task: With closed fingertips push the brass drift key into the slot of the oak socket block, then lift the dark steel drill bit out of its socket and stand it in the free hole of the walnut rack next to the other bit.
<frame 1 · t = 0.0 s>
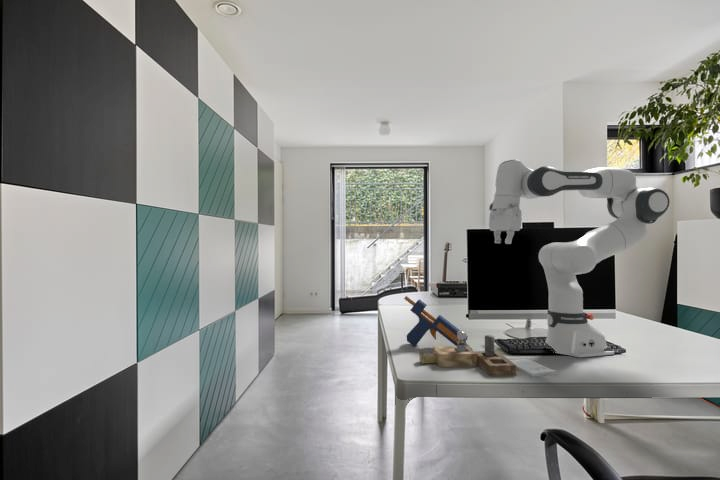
hand: (502, 243, 146), 39 cm above the table, tool pointing down, fingers open, 8 cm apart
glue gun: (437, 347, 153), on the table
bit rack: (493, 367, 129), on the table
drill bit: (461, 362, 134), resting in socket block
socket block: (454, 362, 134), on the table
external hard drive: (530, 371, 127), on the table
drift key: (432, 357, 134), point 2 cm above the table, slide at 3.0 cm
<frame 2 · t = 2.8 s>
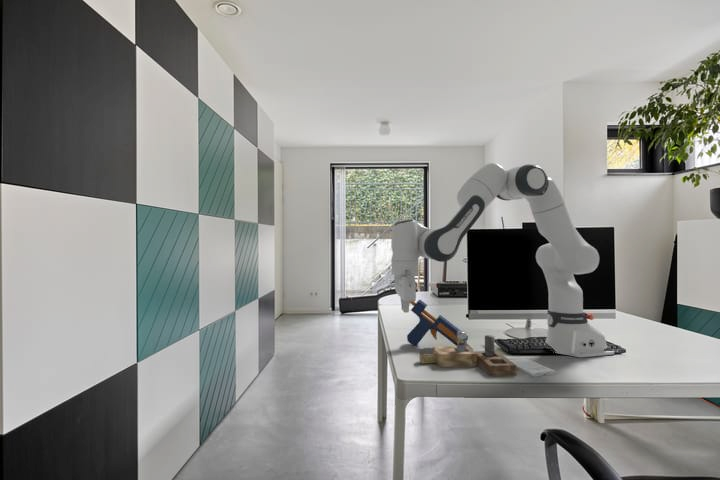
hand: (405, 311, 133), 17 cm above the table, tool pointing down, fingers closed
nothing on the table moved.
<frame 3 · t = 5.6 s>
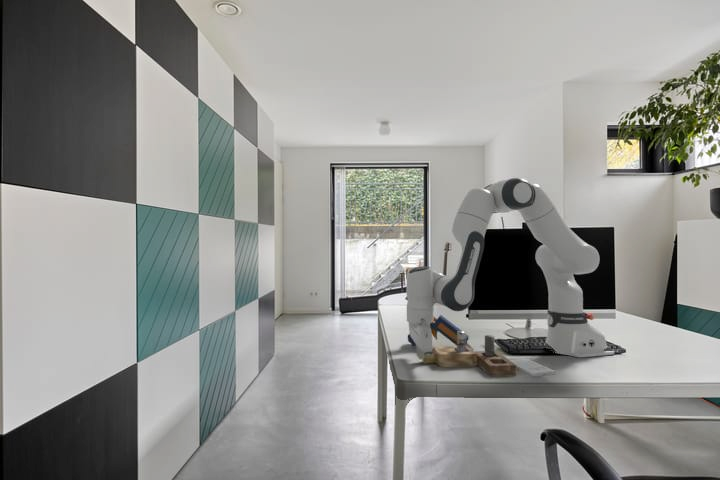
hand: (420, 358, 134), 2 cm above the table, tool pointing down, fingers closed, pressing on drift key
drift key: (435, 357, 134), point 2 cm above the table, slide at 2.1 cm, touching gripper
everything else where it was.
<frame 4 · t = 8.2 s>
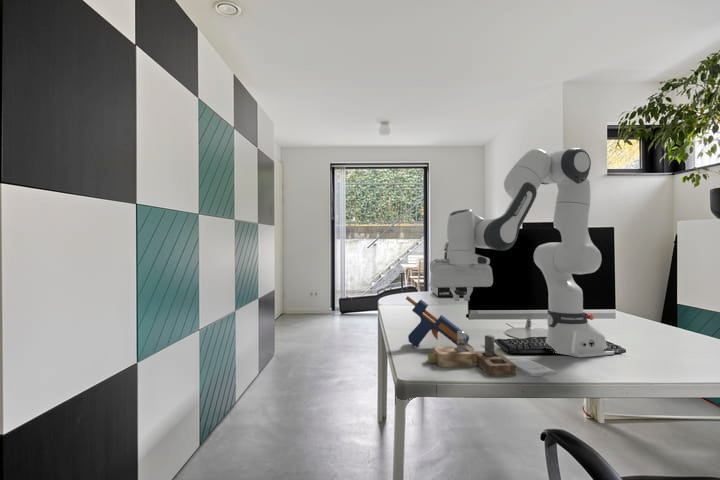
hand: (461, 300, 134), 20 cm above the table, tool pointing down, fingers closed
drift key: (441, 357, 134), point 2 cm above the table, slide at 0.3 cm
everything else where it was.
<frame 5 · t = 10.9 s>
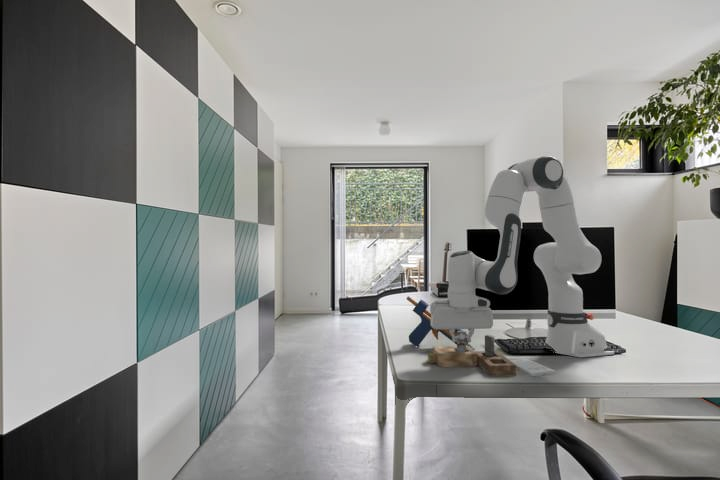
hand: (461, 342, 134), 7 cm above the table, tool pointing down, fingers closed on drill bit, 3 cm apart
drill bit: (461, 362, 134), resting in socket block, touching gripper
everything else where it was.
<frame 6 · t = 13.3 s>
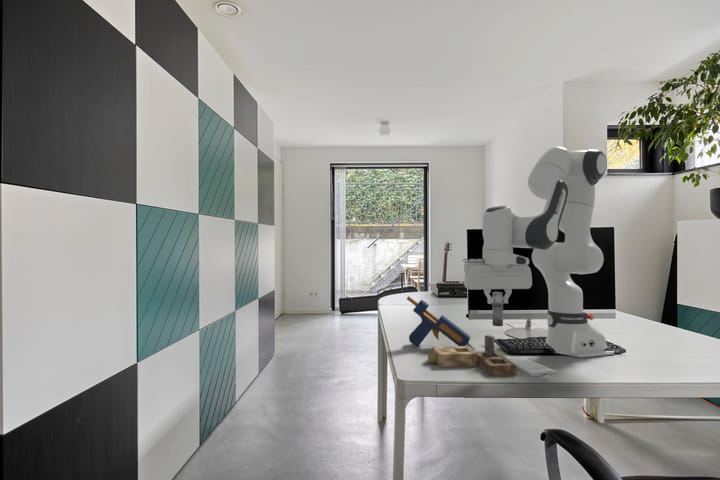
hand: (497, 303, 125), 21 cm above the table, tool pointing down, fingers closed on drill bit, 3 cm apart
drill bit: (497, 325, 125), point 14 cm above the table, touching gripper
when the fingers open (9 cm above the table, at t = 15.7 s): drill bit drops 2 cm, resting in bit rack.
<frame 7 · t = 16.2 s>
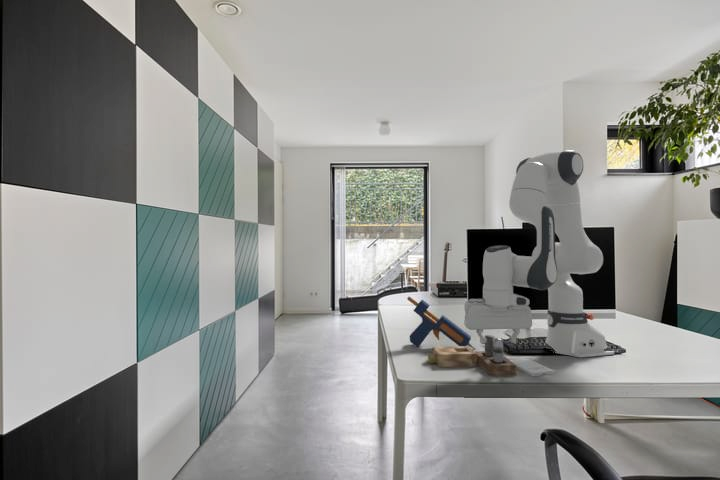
hand: (497, 343, 125), 9 cm above the table, tool pointing down, fingers open, 8 cm apart
drill bit: (498, 371, 125), resting in bit rack
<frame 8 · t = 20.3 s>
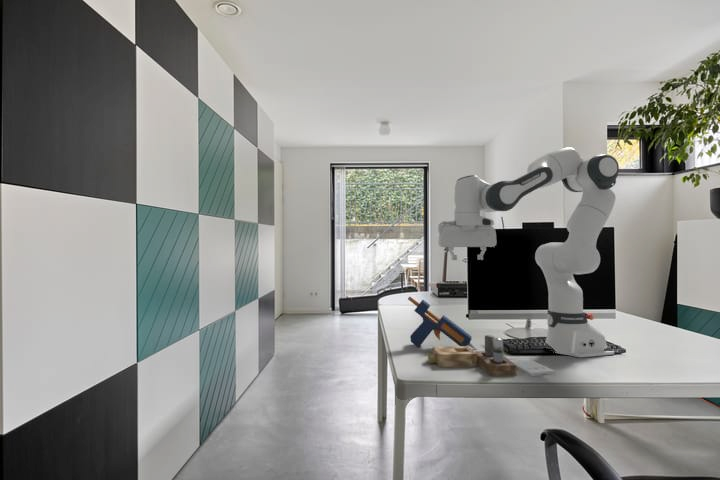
hand: (467, 259, 145), 33 cm above the table, tool pointing down, fingers open, 8 cm apart
at the end: drill bit 0.0 cm from the target spot on the bit rack, point 0.0 cm above the bit rack's base; drill bit tilted 0°; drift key slide at 0.3 cm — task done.
